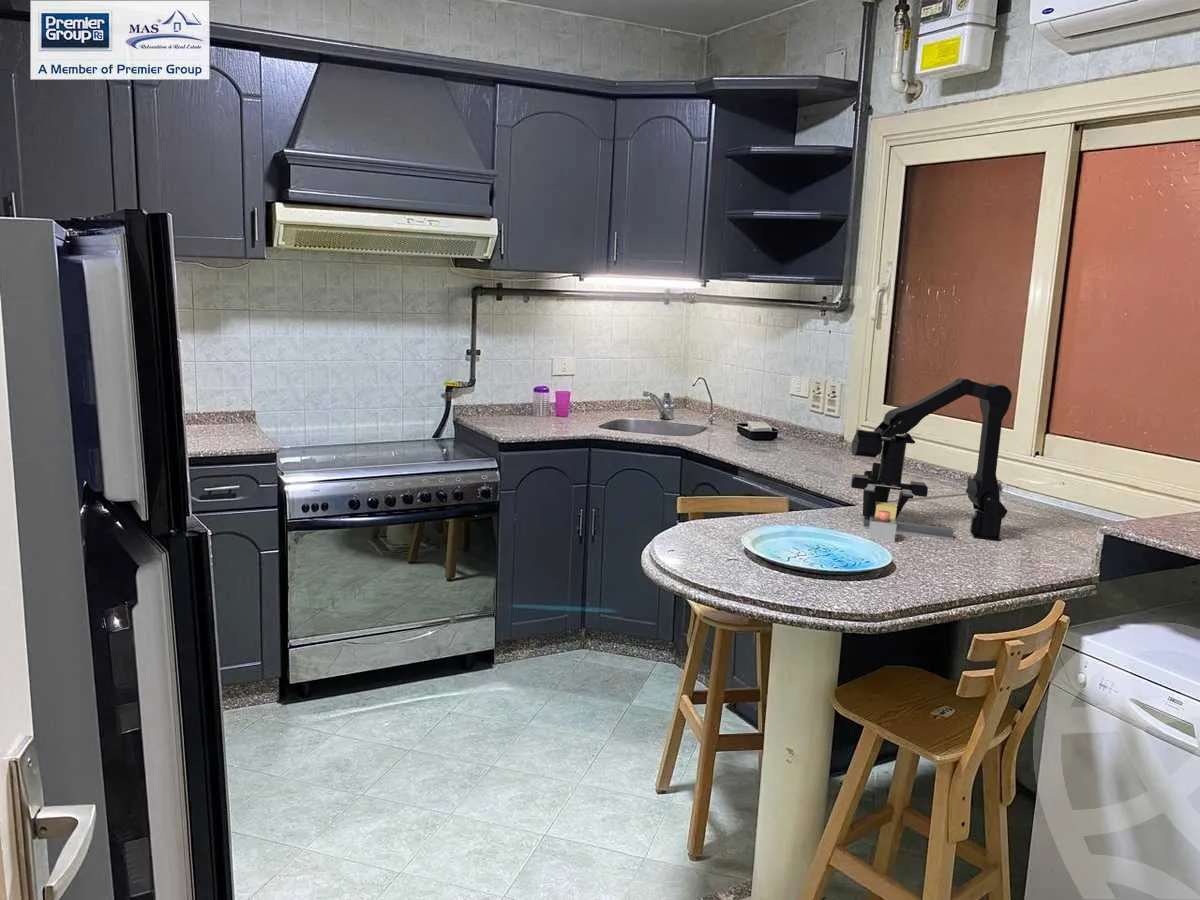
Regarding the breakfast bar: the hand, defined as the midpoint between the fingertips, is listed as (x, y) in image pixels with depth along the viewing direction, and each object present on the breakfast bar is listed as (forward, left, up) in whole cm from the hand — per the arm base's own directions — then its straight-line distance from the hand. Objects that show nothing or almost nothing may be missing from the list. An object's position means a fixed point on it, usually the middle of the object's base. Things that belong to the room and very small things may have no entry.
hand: (884, 517), depth 244 cm
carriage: (0, 0, -3) cm, 3 cm away
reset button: (+1, +11, +2) cm, 11 cm away
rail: (-6, 0, -3) cm, 7 cm away
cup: (+2, -13, -3) cm, 13 cm away
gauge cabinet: (+1, +11, -3) cm, 11 cm away
